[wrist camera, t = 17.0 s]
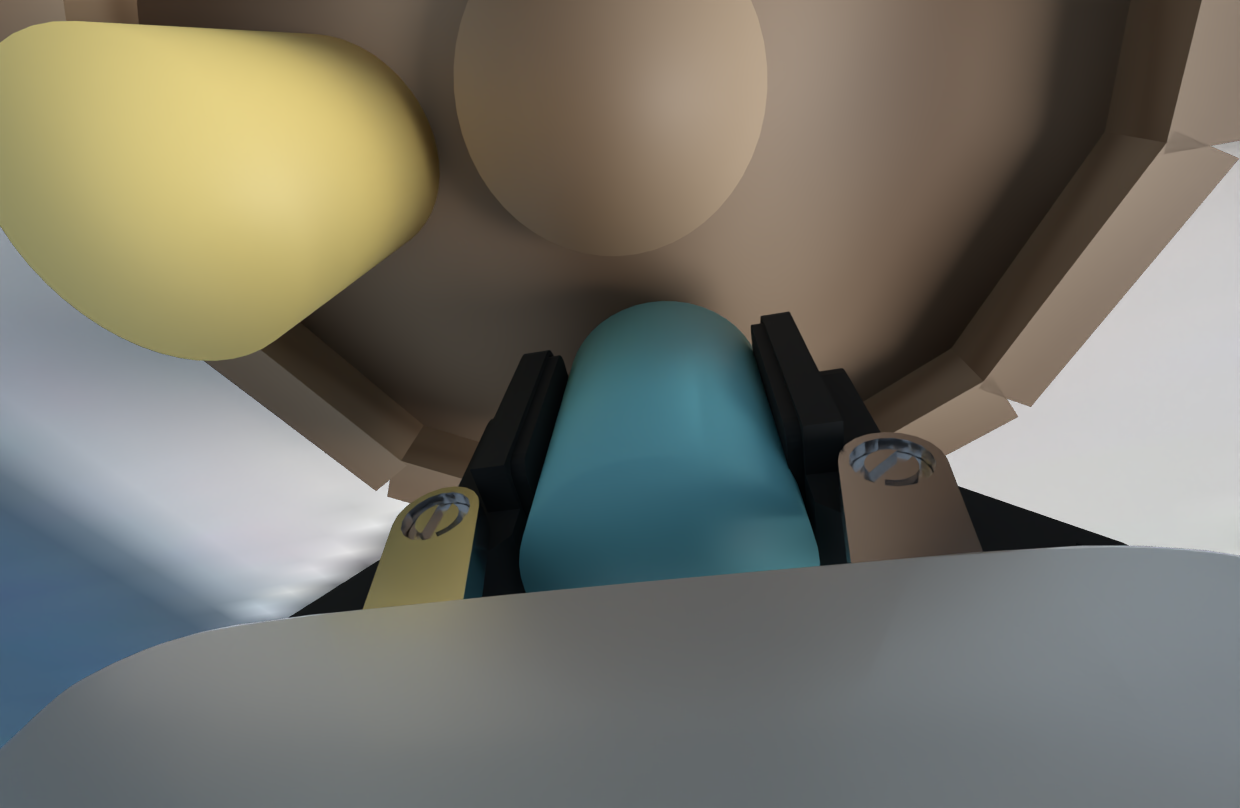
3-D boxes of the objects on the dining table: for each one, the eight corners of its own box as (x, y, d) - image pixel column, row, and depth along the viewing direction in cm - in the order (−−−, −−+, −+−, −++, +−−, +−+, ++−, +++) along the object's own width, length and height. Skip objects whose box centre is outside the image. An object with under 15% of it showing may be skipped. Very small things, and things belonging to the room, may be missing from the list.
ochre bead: (192, 62, 11) (-116, 70, 6) (391, 8, 10) (193, -24, 6) (296, 270, 13) (111, 380, 8) (467, 235, 12) (362, 335, 8)
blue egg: (753, 284, 11) (814, 435, 7) (769, 456, 13) (824, 659, 9) (547, 319, 11) (480, 478, 7) (593, 479, 13) (561, 678, 9)
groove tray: (1465, -1361, 5) (2030, -2354, 3) (1069, 432, 15) (1138, 496, 13) (-196, -521, 8) (-500, -723, 6) (371, 517, 18) (331, 580, 16)
